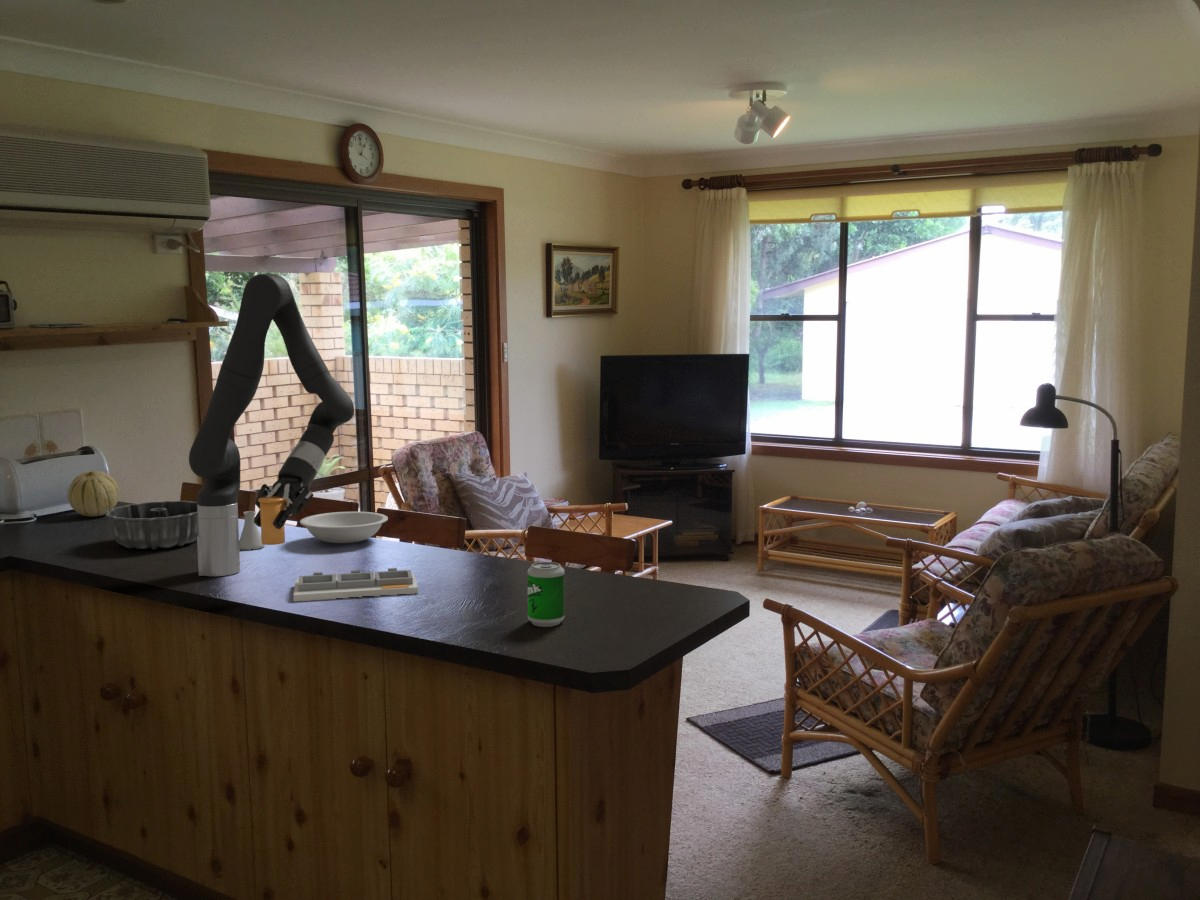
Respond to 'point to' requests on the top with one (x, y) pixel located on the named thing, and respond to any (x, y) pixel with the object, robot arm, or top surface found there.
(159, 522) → the bundt pan
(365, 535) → the soup bowl
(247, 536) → the flask
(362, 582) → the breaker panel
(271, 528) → the cap
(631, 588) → the top surface
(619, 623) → the top surface
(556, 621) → the soda can
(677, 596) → the top surface
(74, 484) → the cantaloupe
